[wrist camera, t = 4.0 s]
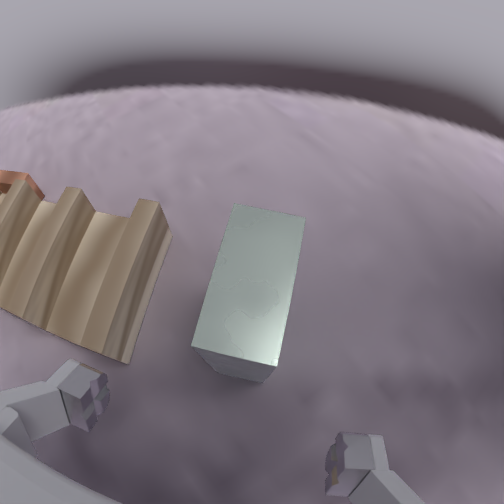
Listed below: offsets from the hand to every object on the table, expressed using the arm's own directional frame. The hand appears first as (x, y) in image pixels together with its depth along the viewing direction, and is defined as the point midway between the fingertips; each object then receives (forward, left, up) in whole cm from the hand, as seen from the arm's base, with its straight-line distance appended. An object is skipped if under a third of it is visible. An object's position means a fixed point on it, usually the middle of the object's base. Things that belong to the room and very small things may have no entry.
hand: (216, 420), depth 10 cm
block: (-5, -3, -10) cm, 11 cm away
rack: (+3, -19, -10) cm, 21 cm away
